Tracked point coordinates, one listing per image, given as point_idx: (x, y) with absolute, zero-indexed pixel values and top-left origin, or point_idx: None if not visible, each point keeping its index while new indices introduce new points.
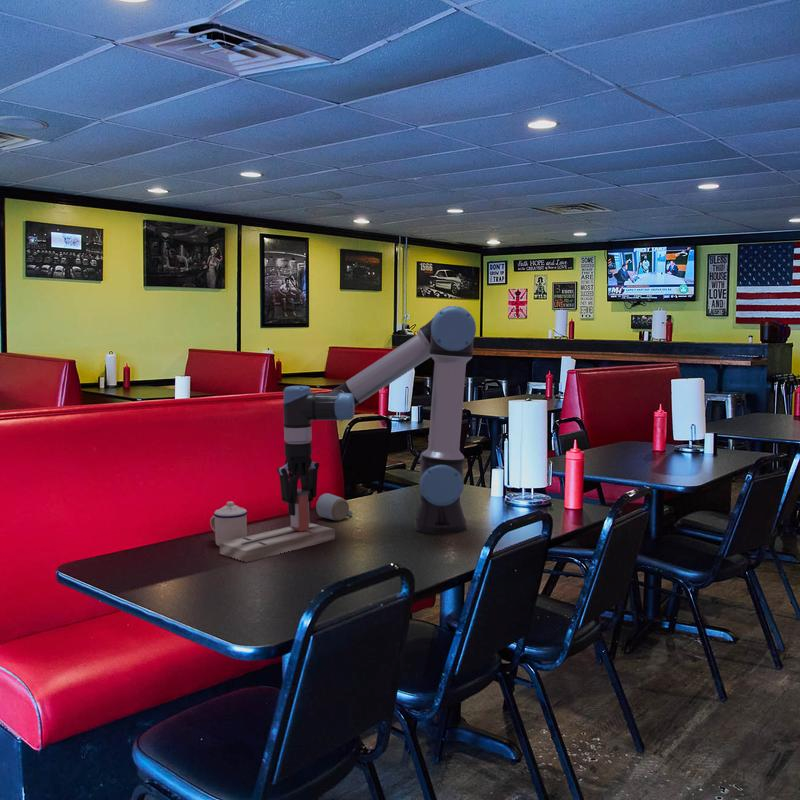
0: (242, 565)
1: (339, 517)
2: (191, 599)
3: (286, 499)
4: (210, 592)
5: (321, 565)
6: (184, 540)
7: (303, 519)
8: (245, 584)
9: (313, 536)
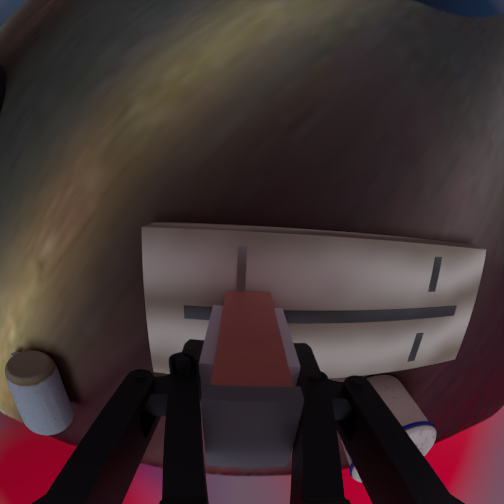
0: (480, 233)
1: (42, 356)
2: None
3: (372, 392)
4: None
5: (385, 60)
6: None
7: (255, 310)
8: None
9: (254, 230)
